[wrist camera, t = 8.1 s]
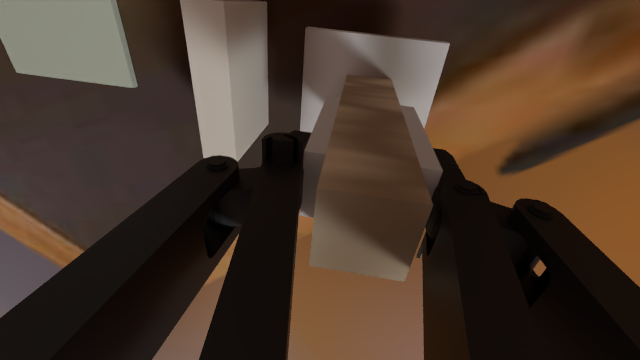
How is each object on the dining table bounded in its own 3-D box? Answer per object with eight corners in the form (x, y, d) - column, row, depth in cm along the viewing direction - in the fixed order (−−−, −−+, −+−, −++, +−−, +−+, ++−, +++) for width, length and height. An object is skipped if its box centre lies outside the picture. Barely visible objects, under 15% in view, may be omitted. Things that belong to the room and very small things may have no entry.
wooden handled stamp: (301, 137, 23) (225, 297, 11) (308, 26, 19) (192, 74, 6) (413, 152, 23) (473, 342, 10) (446, 41, 18) (623, 129, 6)
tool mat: (22, 71, 28) (16, 72, 28) (-53, -94, 22) (-63, -97, 21) (137, 86, 27) (133, 88, 27) (95, -81, 21) (88, -83, 20)
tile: (240, 119, 28) (199, 157, 21) (232, -2, 22) (174, -4, 16) (268, 123, 27) (236, 162, 21) (267, 1, 22) (223, 1, 15)
